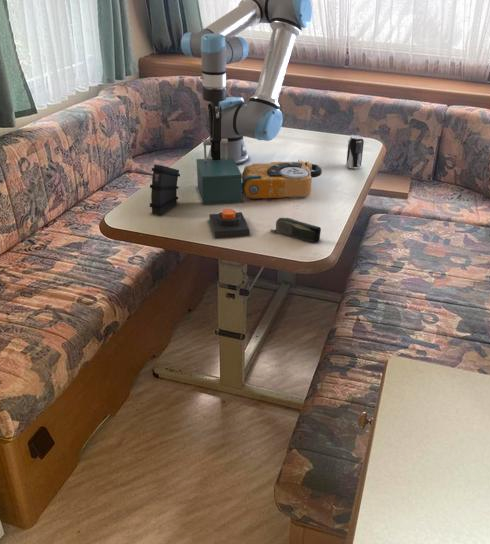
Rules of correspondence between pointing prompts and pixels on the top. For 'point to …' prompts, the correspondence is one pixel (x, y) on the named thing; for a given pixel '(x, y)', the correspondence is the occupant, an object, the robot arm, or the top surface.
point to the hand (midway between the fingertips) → (215, 158)
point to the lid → (217, 164)
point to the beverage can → (355, 151)
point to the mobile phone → (297, 229)
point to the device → (278, 179)
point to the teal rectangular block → (219, 189)
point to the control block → (228, 226)
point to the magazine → (163, 189)
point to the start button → (228, 214)
